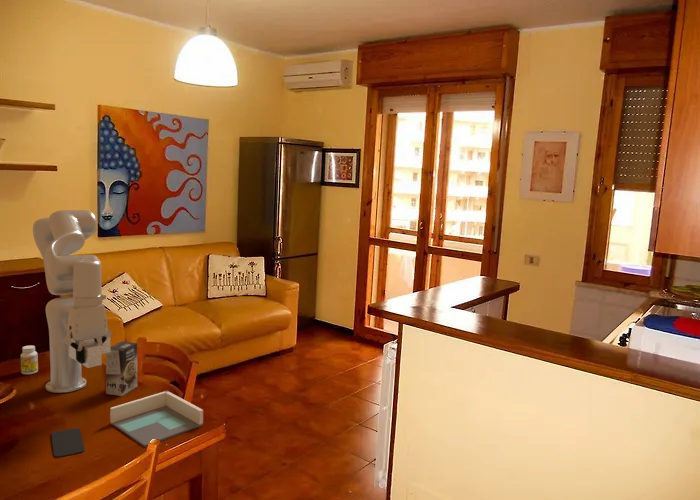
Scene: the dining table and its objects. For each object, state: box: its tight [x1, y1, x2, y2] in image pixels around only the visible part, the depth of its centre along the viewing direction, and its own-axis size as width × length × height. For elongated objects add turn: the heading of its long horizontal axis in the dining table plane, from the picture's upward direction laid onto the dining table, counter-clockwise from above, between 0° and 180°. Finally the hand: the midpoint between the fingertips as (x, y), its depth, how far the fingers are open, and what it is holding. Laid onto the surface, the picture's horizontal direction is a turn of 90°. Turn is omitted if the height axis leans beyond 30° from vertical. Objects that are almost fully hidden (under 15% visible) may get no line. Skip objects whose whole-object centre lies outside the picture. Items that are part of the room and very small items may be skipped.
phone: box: [50, 427, 85, 459], centre depth 151 cm, size 7×1×15 cm
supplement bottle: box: [20, 344, 39, 375], centre depth 199 cm, size 5×5×10 cm
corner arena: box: [109, 390, 204, 448], centre depth 164 cm, size 20×19×5 cm
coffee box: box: [105, 341, 138, 397], centre depth 186 cm, size 9×6×16 cm
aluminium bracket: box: [69, 336, 112, 369], centre depth 165 cm, size 13×11×6 cm
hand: (88, 360), depth 162 cm, fingers closed on aluminium bracket, 4 cm apart
